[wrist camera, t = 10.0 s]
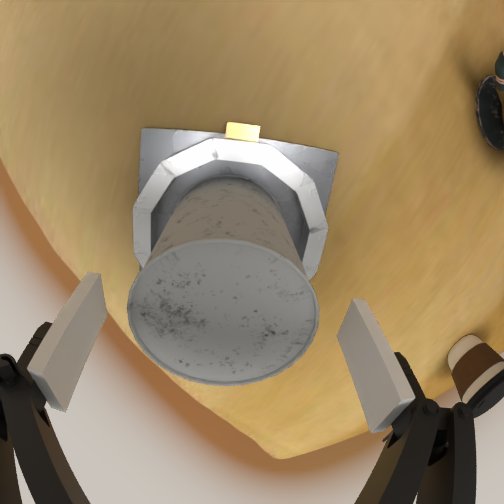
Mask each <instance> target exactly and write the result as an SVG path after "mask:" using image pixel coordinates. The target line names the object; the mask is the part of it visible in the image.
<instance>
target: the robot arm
mask: <svg viewBox="0 0 504 504" xmlns="http://www.w3.org/2000/svg"><path fill="white" fill-rule="evenodd" d="M107 315H108V314H107V309H106V304H105V298H104V293H103V287H102V280H101V274H99V273H92V272H87V274H86V275H85V276H84V278H83V279H82V281H81V282H80V283H79V285H78V286H77V288H76V289H75V291H74V292H73V294H72V295H71V296H70V298H69V299H68V301H67V302H66V304H65V305H64V307H63V308H62V310H61V311H60V313H59V314H58V316H57V318H56V320H55V321H54V322H53V323H49V322H45V323H44V324H42V325H41V326H40V327H39V328H38V329H37V330H36V332H35V334H34V335H33V338H31V340H30V342H29V344H28V345H27V346H26V348H25V350H24V351H23V353H22V355H21V357H20V358H19V360H18V362H17V363H16V361H15V359H14V358H13V357H12V356H11V355H9V354H0V504H22V500H21V496H20V490H19V485H18V479H17V474H16V467H15V459H14V450H15V453H16V456H17V459H18V462H19V465H20V468H21V470H22V473H23V476H24V478H25V481H26V483H27V485H28V488H29V490H30V492H31V495H32V497H33V499H34V501H35V503H36V504H90V502H89V501H88V499H87V497H86V496H85V494H84V492H83V490H82V489H81V487H80V485H79V483H78V481H77V479H76V478H75V476H74V474H73V472H72V470H71V468H70V466H69V464H68V462H67V460H66V457H65V455H64V453H63V451H62V449H61V447H60V444H59V442H58V439H57V437H56V435H55V432H54V430H53V427H52V425H51V422H50V419H49V416H48V414H47V411H46V409H45V408H44V406H45V403H46V401H47V402H48V403H49V405H50V406H51V408H54V409H57V410H59V411H63V412H66V410H67V408H68V405H69V402H70V400H71V397H72V394H73V392H74V390H75V387H76V385H77V382H78V379H79V377H80V375H81V372H82V370H83V368H84V365H85V363H86V361H87V358H88V356H89V354H90V351H91V349H92V347H93V345H94V343H95V340H96V338H97V336H98V334H99V332H100V330H101V327H102V326H103V323H104V321H105V319H106V317H107ZM337 338H338V341H339V343H340V346H341V349H342V351H343V354H344V357H345V360H346V362H347V365H348V368H349V371H350V373H351V376H352V379H353V382H354V385H355V388H356V390H357V393H358V396H359V399H360V402H361V405H362V408H363V411H364V414H365V417H366V420H367V423H368V426H369V429H370V432H371V433H376V432H381V431H385V430H386V429H387V428H388V427H389V426H390V425H392V428H393V430H392V431H391V432H390V433H389V434H388V435H387V436H386V437H385V438H384V439H383V442H384V441H386V440H387V441H386V444H385V446H384V448H383V451H382V453H381V455H380V457H379V459H378V461H377V463H376V465H375V467H374V469H373V471H372V473H371V475H370V477H369V479H368V481H367V483H366V484H365V486H364V488H363V490H362V491H361V493H360V495H359V497H358V498H357V500H356V502H355V503H354V504H413V502H414V500H415V497H416V495H417V501H416V504H475V499H476V443H475V428H474V418H473V412H472V410H471V408H470V407H469V406H468V405H467V404H466V403H463V402H458V403H457V404H455V405H454V406H453V407H452V408H441V407H439V406H438V404H437V403H436V402H435V401H433V400H431V399H428V398H427V399H426V397H425V395H424V393H423V391H422V389H421V387H420V385H419V383H418V381H417V379H416V377H415V375H414V373H413V371H412V369H410V365H409V364H408V362H407V360H406V358H405V357H404V356H403V355H402V354H401V353H400V352H393V350H392V348H391V346H390V345H389V343H388V341H387V339H386V337H385V335H384V333H383V331H382V330H381V328H380V326H379V324H378V322H377V320H376V319H375V317H374V315H373V313H372V311H371V310H370V308H369V306H368V304H367V302H366V301H365V299H352V301H351V304H350V306H349V309H348V311H347V313H346V316H345V318H344V320H343V323H342V325H341V327H340V330H339V332H338V334H337ZM13 447H14V449H13ZM417 492H418V494H417Z"/></svg>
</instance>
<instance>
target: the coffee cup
mask: <svg viewBox="0 0 504 504" xmlns="http://www.w3.org/2000/svg"><path fill="white" fill-rule="evenodd" d="M448 364H449V367H450V369H451V372H452V377H453V380H454V382H455V385H456V388H457V390H458V393H459V396H460V399H461V401H462V402H463V403H466V404H467V405H468V406H469V407H470V408H471V410H472V412H473V418H476V417H478V416H480V415H481V414H483V413H485V412H486V411H488V410H489V409H490V408H492V407H493V406H494V405H495V404H497V403H498V402H499V401H500V400H501V399H502V398H503V397H504V359H503V358H502V357H501V356H500V355H499V354H498V353H496V352H495V351H494V350H493V349H492V348H491V347H490V346H489V345H487V344H486V343H484V342H482V341H481V340H480V339H479V338H478V337H477V336H474V335H467V336H465V337H463V338H462V339H460V340H459V341H458V342H457V343H456V344H455V345H454V346H453V347H452V348H451V350H450V352H449V354H448Z"/></svg>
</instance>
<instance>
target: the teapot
mask: <svg viewBox="0 0 504 504" xmlns="http://www.w3.org/2000/svg"><path fill="white" fill-rule="evenodd" d="M495 71H496V75H490V76H486V77H485V78H483V79H482V80H481V81H480V84H479V86H478V88H477V92H476V98H475V107H476V117H477V121H478V126H479V128H480V131H481V133H482V136H483V137H484V139H485V140H486V142H487V143H488V144H489V145H490V146H491V147H493V148H494V149H496V150H502V151H504V50H503V51H502V52H501V53H500V54H499V57H498V59H497V61H496V63H495Z"/></svg>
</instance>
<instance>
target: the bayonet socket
mask: <svg viewBox="0 0 504 504" xmlns="http://www.w3.org/2000/svg"><path fill="white" fill-rule="evenodd" d="M259 130H260V126H258V125H250V124H243V123H235V122H227V128H226V133H217V132H207V131H195V130H181V129H164V128H142V133H141V147H140V164H139V191H138V199H137V200H136V202H135V204H134V205H133V206H134V207H133V243H134V253H135V256H136V258H137V260H138V261H139V264H140V271H141V270H142V269H143V268H144V266H145V264H146V262H147V260H148V258H149V256H150V254H151V252H152V250H153V248H154V247H155V245H156V243H157V241H158V239H159V237H160V235H161V234H162V232H163V230H164V228H165V226H166V225H167V223H168V221H169V219H170V218H171V216H172V214H173V212H174V209H175V207H176V205H177V203H178V201H179V200H180V198H181V196H182V195H183V194H184V193H185V192H186V191H187V190H188V189H189V188H190V187H191V186H193V185H194V184H196V183H197V182H199V181H200V180H203V179H205V178H208V177H211V176H214V175H223V174H231V175H240V176H243V177H246V178H249V179H252V180H254V181H256V182H257V183H259V184H260V185H262V186H263V187H265V188H266V189H267V190H268V191H269V192H270V193H271V194H272V196H273V197H274V198H275V200H276V202H277V204H278V205H279V207H280V210H281V213H282V217H283V219H284V222H285V224H286V226H287V229H288V231H289V234H290V236H291V238H292V241H293V243H294V246H295V248H296V250H297V253H298V255H299V258H300V260H301V263H302V265H303V268H304V270H305V273H306V275H307V278H308V280H310V279H311V278H312V277H313V276H314V275H315V274H316V273H315V272H317V269H318V266H319V262H320V259H321V255H322V252H323V248H324V244H325V240H326V237H327V233H328V225H327V221H326V218H325V213H326V209H327V205H328V201H329V196H330V192H331V187H332V183H333V179H334V174H335V169H336V165H337V160H338V155H339V153H338V152H335V151H330V150H326V149H321V148H316V147H311V146H306V145H301V144H295V143H290V142H284V141H278V140H272V139H265V138H258V136H259Z"/></svg>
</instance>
